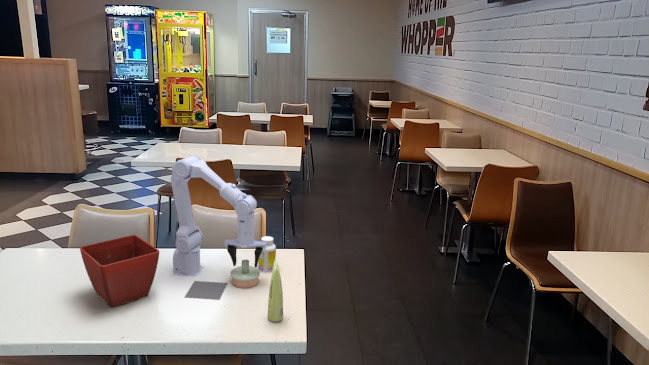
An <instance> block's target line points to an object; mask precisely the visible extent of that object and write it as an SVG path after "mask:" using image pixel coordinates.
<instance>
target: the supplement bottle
mask: <svg viewBox="0 0 649 365" xmlns="http://www.w3.org/2000/svg"><path fill="white" fill-rule="evenodd" d="M260 241H261V242H266V249H263V250H262V252H261V254H260V256H259V260H258V265H257V267H258V268H257V269H259V271H260V272H263V273H270V272H271V273H272V270H273V265H274V261H275V257H276V258H277V255H276V254H277V246H276V244H275V243H274V237H272V236H268V235H267V236H265V235H264V236H262V237H261V238H260Z"/></svg>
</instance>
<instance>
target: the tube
mask: <svg viewBox="0 0 649 365" xmlns="http://www.w3.org/2000/svg"><path fill="white" fill-rule="evenodd" d="M281 276H282V275H281V272H280V267H279V264H278V259H277V256H276V257H275V261H274V265H273V270H272V271H271V276H270V283H269V290H268V300H267V319H268V320H269V321H271V322H272V323H274V322H275V323H276V322H280V321H282V320H283V318H284V296H283V295H284V293H283V284H282V277H281Z"/></svg>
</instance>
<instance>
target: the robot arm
mask: <svg viewBox="0 0 649 365" xmlns="http://www.w3.org/2000/svg"><path fill="white" fill-rule="evenodd" d="M171 171H172V173H171V177H170V184H171V188H172V194H173V195H172V196H173V198H174V205H175V210H176V215H177V221H178V225H179V227H178V229H177V231H176V233H175V237H176V238H175V247H176V248H175V249H174V251H173V254H172V266H173V268H172V269H173V270H172V275H174V276H175V275H178V276H191V277H193V276H194V277H198V276H199V275H200V274H201V272H202V270H203V269H204V267H205V266H203V265H201V244H202V243H203V241H204V234H203V233H202V231H201V228H200V226H199V225H198V224H197V223H196V222H195V218H194V212H193V207H192V200H191V195H190V189H189V181H190V180H191V179H192V178H200V179H203V180H204V181H206V182H207V183H209V184H210V185H211V186H212V187H214V188H215V189H217V190H218V191H219V196H220V197H221V198H223V199H224V200H225V201H226V202H227V203H229V204H230V205H231V206H233V207H234V211H235V213H236V215H237V216H236V217H237V238H235V239H225V240H224V247H225V248H226V250H227V253H228V254H229V256H230V258H231V262H232V266H233V267H236V266H237V260H238V259H237V247H240V248H241V249H247V248H251V249H254V267H255V268H257V267H258V260H259V256H260V254H261V252H262V250H263V249H266V242H261V240H256V239H255V210H256V209H257V206H258V202H257V200H256V198H255V197H254V196H253V195H251V194H246V192H242V190H240V189H239V188H238V187H237V185H236V184H235V183H232V182H225V181H224V180H223V179H222V178H221V177H220V176H219V175H218V174H217V173H216V172H215V171H213V170H212V168H210V166H208V164H207V162H206V161H205V160H204V159H202V157H200V156H199V155H196V154H193V155H190V156H188V157H185V158H183V159H178V160H176V161H175V163H173V164H172V166H171Z"/></svg>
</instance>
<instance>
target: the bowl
mask: <svg viewBox="0 0 649 365" xmlns="http://www.w3.org/2000/svg"><path fill="white" fill-rule="evenodd" d="M259 277H260V276H259ZM259 277H258V278H256V279H254V280H250V281H239V280H235V279H233V278H232V277H231V284H233V286H235V287H237V288H242V289H243V288H245V289H249V288H252V287H256V286H257V285H258V283H259Z"/></svg>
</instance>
